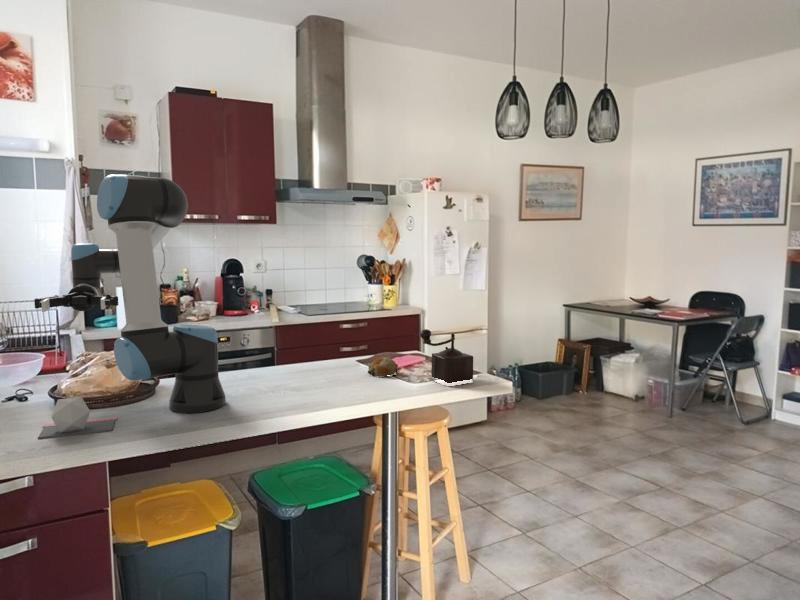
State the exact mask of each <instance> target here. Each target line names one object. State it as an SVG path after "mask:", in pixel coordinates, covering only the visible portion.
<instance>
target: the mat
mask: <svg viewBox="0 0 800 600" xmlns="http://www.w3.org/2000/svg"><path fill="white" fill-rule="evenodd" d="M115 423H116V420H108V421H98V422H88V423H86V424H85V427H84V430H77V431H71V432H64V433H60V432H59V430H58V428H57V427H56V426H49V427H44V428H43V427H42V428H43V429H42V430H41V432H40V433H39V434H38V436H37V439H38V440H41V439H48V438H49V439H51V438H60V437H69V436H77V435H85V434H95V433H105V432H112V431H114V425H115Z"/></svg>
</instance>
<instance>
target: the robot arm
mask: <svg viewBox="0 0 800 600" xmlns="http://www.w3.org/2000/svg"><path fill="white" fill-rule="evenodd" d="M96 209H97V213H98V216H99V218H100V219H103V220H104V221H105V220H107V223H108V228H109V229H110V230H111V231H112V232H114V233H115V237H116V246H117V249H115V248H114V249H111V248H109V249H100V246H99V245H98V244H97V243H74V244H73V245H72V246H71V254H70V255H71V256H70V260H71V268H72V269H71V271H72V288H71V289H70V290H69V292H68V293H67V294H66V293H65V294H63V295H62V296H60V295H58V294H55V295H52V296H45V297H39V298H34V300H33V303H34V309H36V310H37V309H40V308H41V312H43V313H45V312H48V310H50V308H56V307H64V308H72V309H74V310H75V311H78V312H86V311H89V310H91V309H93V308H94V307H95V306H100V310H105V309H106V307H111V306H115V307H118V306H119V297H118V296H116V295H111V294H108V293H104V294H103V289H102V287H101V274H119V275H120V280H121V290H122V297H123V306H124V316H125V325H124V326H123V327H122V329H120V335H121V337H120V336H119V337H118V338H116V339H115V341H114V343H113V346H114V347H113V355H114V360H115V363H116V366H117V368H118V370H119V371H120V374H122V375H123V376H124V377H125V378H126V379H127V380H130V381H142V380H143V381H144V380H146V381H147V380H150V379H153V378H154V379H155V378H159V377H166V376H170V375H175V376H174V377H175V381H174V385H173V386H172V387H173V389H172V391H171V394H170V398H169V409H170V410H172V411H173V412H175V413H182V414H183V413H184V414H185V413H186V414H195V413H205V412H211V411H215V410H217V409H220V408H222V407H224V406H225V405H226V399H227V398H226V393H225V391H224V389H223V386H222V383H221V381H220V377H219V350H218V349H219V348H218V344H219V341H218V339H219V338H218V333H217V330H216V329H215V328H214V327H212V326H208V325H206V326H205V325H200V324H199V325H197V324H175V325H174V326H173V328H172V331H170V330H169V325H168V324H167V322H164V321H163V320H162V315H161V305H160V299H159V298H160V297H159V289H158V281H157V271H156V263H155V255H154V249H155V248H156V247H157V245H159V243H160V242H161V240H163V239H164V237H165V236H166V235H167V234H168V233H169V231H170V230H171V229H174V228H177V227H178V226H179V225H180V224H181V223H182V222H183V221H184V219H185V218H186V216H187V213H188V210H189V202H188V198H187V195H186V193H185V191H184V190H183V189H182V188H181V186H180V185H178V184H177V183H176V182H175V181H173V180H171V179H169V178H165V177H161V176H160V177H154V176H153V177H152V176H143V175H133V174H132V175H131V174H126V173H124V174H108V175H107V176H105V177H104V178H103V179H102V181H101V183H100V185H99V187H98V192H97V197H96Z"/></svg>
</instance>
